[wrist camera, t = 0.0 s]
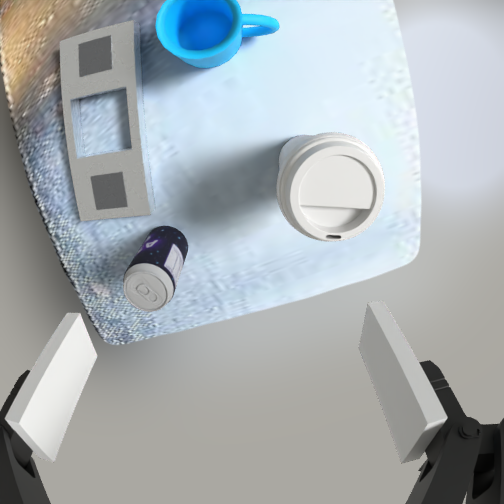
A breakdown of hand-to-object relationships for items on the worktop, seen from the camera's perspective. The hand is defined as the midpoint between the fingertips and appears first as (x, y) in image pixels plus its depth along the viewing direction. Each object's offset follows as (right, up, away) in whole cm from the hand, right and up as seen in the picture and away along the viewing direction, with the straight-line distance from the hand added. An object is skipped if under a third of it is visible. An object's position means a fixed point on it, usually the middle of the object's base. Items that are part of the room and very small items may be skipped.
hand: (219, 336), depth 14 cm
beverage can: (-10, +5, +29) cm, 31 cm away
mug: (-2, +29, +17) cm, 34 cm away
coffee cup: (+8, +15, +24) cm, 30 cm away
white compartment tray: (-16, +20, +21) cm, 33 cm away
